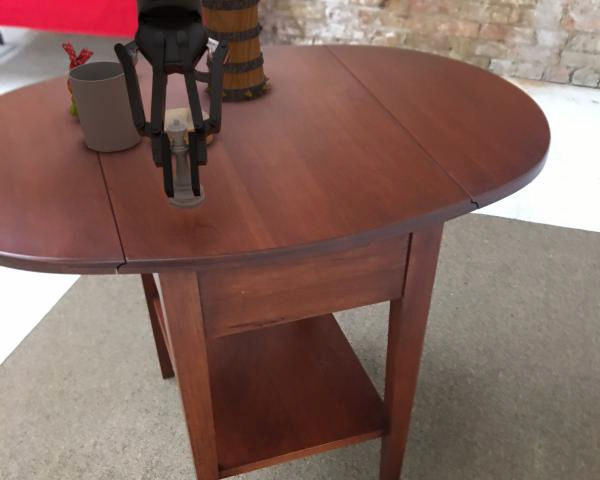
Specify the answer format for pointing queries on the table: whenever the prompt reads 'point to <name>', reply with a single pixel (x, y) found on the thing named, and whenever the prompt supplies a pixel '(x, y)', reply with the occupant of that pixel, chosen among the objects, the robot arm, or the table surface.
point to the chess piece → (182, 171)
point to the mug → (236, 48)
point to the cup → (103, 106)
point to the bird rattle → (74, 63)
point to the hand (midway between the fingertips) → (182, 192)
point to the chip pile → (183, 121)
